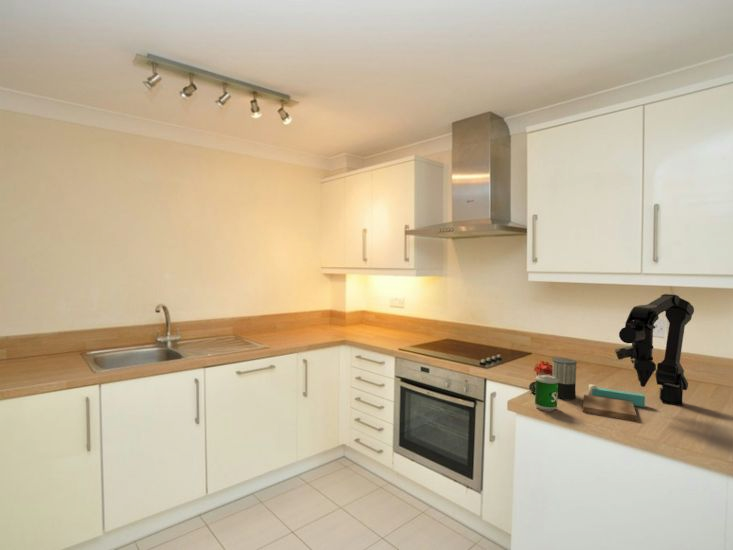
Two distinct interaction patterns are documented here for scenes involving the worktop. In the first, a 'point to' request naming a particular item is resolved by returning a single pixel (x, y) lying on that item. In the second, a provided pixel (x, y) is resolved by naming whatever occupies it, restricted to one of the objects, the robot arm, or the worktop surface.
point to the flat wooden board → (609, 407)
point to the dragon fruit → (543, 368)
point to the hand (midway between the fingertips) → (641, 383)
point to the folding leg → (618, 395)
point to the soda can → (546, 392)
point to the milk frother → (563, 377)
